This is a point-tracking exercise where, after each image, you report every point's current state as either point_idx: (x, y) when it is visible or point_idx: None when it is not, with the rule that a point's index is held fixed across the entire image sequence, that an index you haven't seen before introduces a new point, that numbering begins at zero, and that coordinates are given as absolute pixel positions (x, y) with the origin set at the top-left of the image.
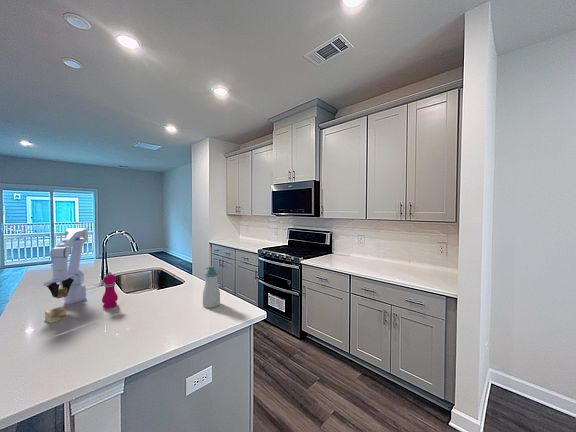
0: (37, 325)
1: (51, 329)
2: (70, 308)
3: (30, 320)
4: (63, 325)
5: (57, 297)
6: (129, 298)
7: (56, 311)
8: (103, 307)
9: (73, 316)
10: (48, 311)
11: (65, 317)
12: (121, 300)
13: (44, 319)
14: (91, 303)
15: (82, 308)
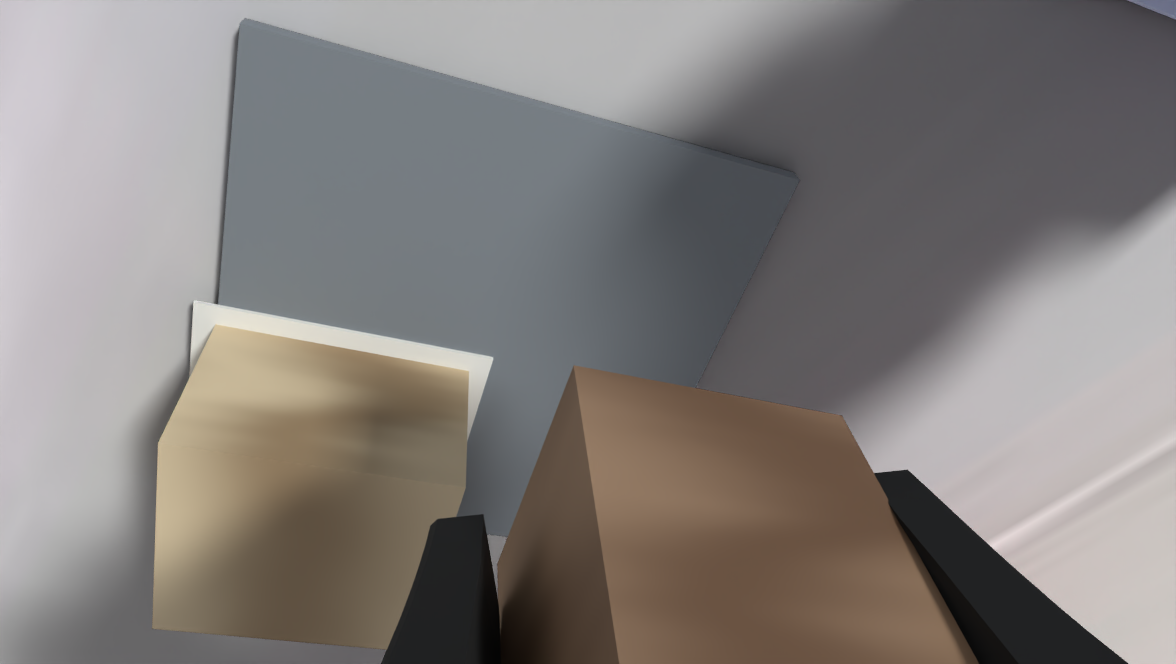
0: (39, 398)
1: (102, 646)
2: (798, 218)
3: (49, 25)
4: (244, 660)
5: (505, 573)
6: (1168, 637)
7: (268, 618)
8: None
9: (496, 547)
10: (191, 513)
11: None
12: (1103, 613)
13: (200, 329)
14: (1044, 355)
15: None
